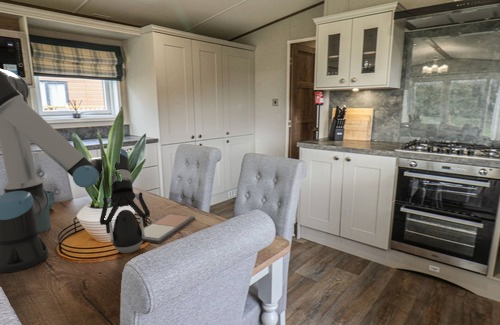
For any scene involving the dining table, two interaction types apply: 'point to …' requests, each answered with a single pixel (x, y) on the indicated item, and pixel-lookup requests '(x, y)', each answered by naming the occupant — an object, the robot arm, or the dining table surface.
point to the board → (165, 227)
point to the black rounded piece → (127, 232)
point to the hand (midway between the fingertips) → (128, 238)
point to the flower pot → (51, 198)
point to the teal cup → (44, 221)
